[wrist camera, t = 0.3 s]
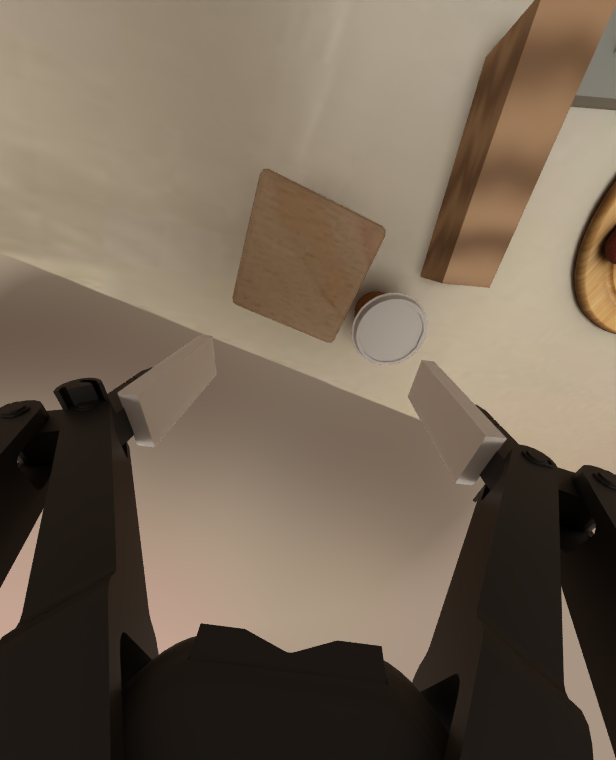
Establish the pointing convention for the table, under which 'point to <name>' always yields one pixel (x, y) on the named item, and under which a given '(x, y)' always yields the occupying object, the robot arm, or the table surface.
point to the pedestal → (600, 73)
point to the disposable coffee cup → (388, 327)
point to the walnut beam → (511, 135)
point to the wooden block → (303, 257)
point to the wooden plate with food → (599, 266)
